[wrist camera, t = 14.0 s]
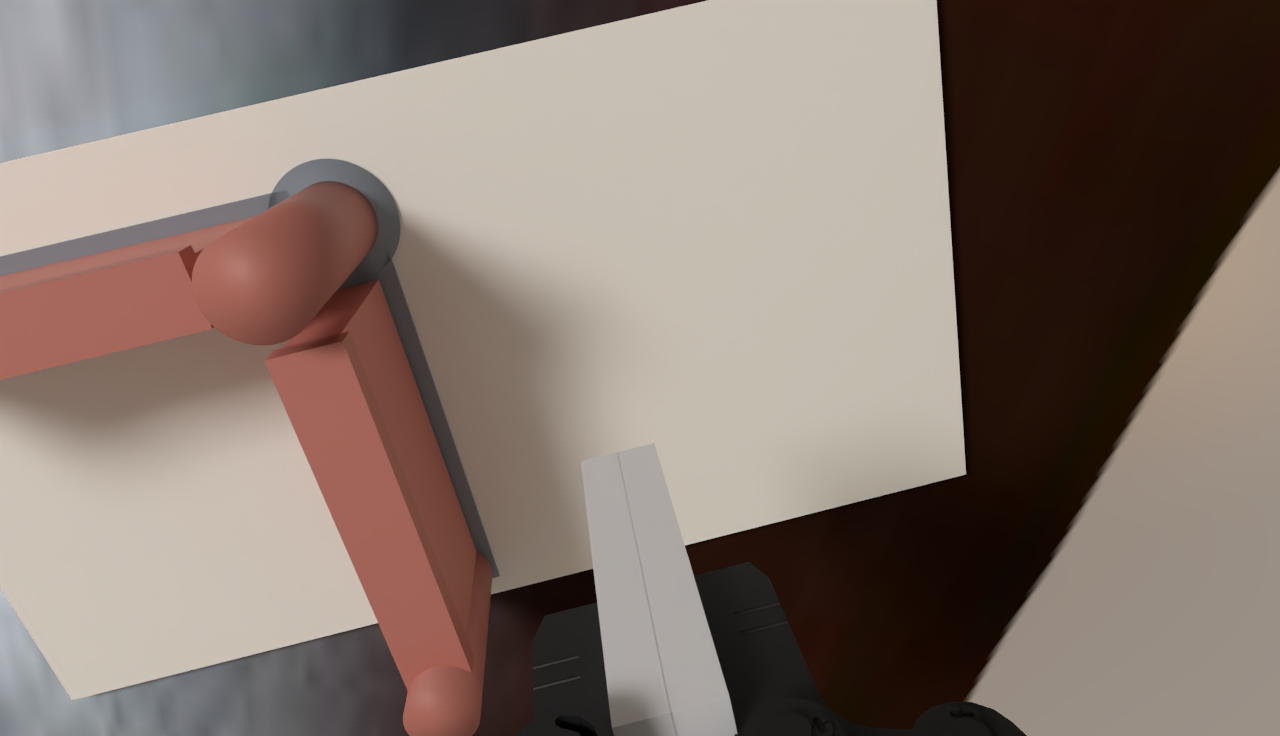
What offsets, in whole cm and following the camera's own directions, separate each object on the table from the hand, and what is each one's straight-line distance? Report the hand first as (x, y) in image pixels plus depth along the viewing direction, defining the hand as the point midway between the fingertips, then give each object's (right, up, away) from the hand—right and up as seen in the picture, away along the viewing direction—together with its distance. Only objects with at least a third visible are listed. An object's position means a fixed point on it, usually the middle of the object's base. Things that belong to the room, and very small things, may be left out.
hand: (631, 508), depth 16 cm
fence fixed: (-15, +6, +6) cm, 17 cm away
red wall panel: (-7, 0, +9) cm, 11 cm away
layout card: (-6, +3, +9) cm, 11 cm away
